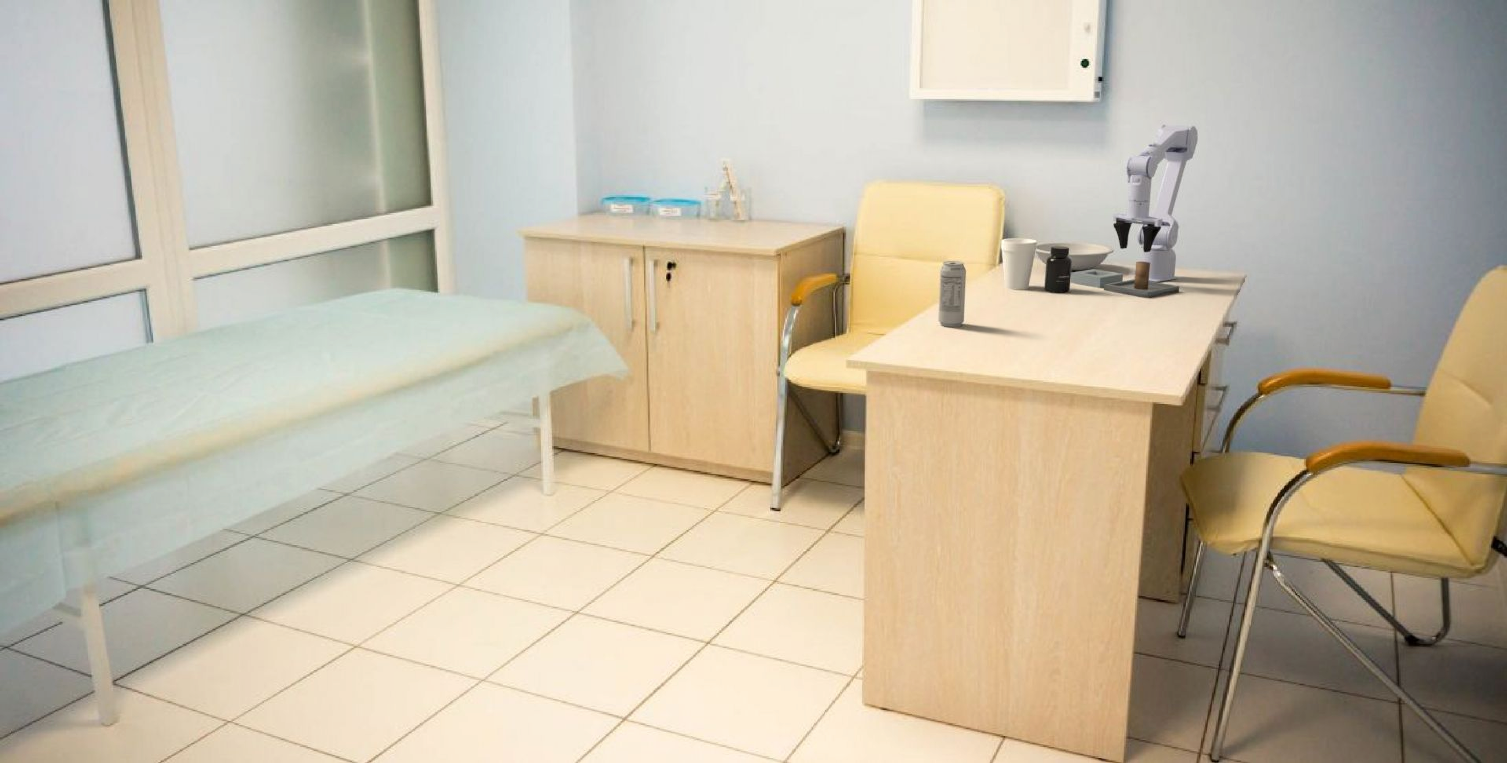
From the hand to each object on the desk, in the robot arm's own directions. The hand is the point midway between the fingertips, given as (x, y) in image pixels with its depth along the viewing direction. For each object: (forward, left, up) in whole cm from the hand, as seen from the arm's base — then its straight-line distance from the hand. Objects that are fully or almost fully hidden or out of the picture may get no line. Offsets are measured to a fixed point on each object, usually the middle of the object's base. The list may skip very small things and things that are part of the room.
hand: (1135, 250), depth 342 cm
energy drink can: (+75, +4, -10) cm, 76 cm away
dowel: (+3, +5, -10) cm, 11 cm away
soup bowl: (-9, -29, -11) cm, 32 cm away
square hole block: (+3, -10, -10) cm, 15 cm away
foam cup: (+26, -19, -10) cm, 34 cm away
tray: (+3, +5, -10) cm, 12 cm away
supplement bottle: (+21, -9, -10) cm, 25 cm away
